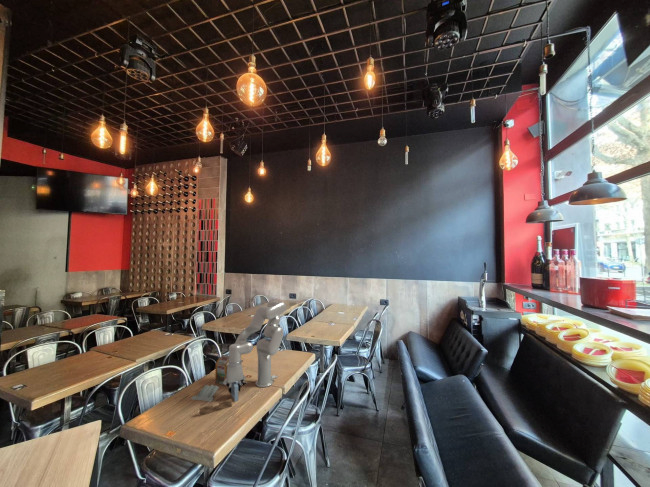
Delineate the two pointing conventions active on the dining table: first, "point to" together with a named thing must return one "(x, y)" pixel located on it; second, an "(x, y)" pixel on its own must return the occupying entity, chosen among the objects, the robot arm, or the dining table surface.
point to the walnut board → (215, 407)
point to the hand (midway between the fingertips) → (234, 391)
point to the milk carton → (221, 369)
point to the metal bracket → (206, 393)
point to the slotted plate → (234, 391)
